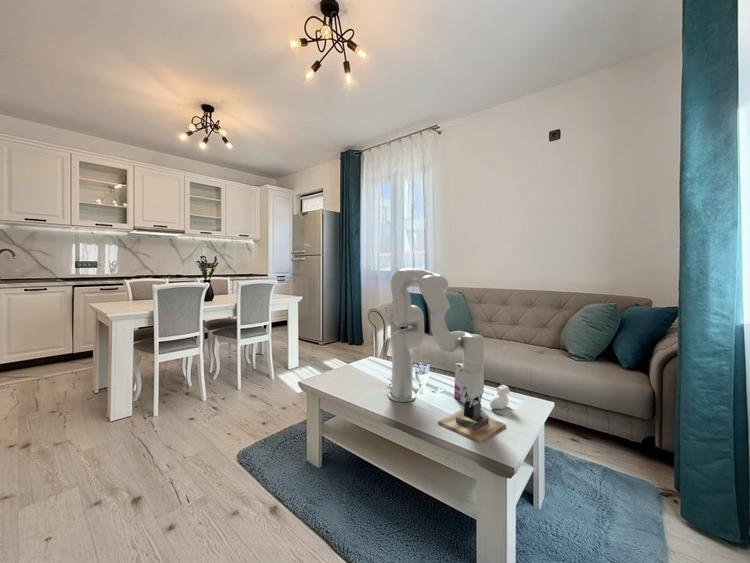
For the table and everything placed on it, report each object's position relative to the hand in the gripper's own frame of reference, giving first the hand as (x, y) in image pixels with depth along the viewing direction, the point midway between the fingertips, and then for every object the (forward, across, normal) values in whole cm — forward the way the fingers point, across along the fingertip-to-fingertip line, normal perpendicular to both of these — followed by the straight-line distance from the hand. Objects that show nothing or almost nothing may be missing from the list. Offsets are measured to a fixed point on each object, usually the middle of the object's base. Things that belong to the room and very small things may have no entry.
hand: (472, 414), depth 119 cm
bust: (+5, -24, -1) cm, 24 cm away
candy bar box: (+4, -18, -14) cm, 23 cm away
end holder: (+4, 0, 0) cm, 4 cm away
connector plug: (+1, 0, 0) cm, 1 cm away
